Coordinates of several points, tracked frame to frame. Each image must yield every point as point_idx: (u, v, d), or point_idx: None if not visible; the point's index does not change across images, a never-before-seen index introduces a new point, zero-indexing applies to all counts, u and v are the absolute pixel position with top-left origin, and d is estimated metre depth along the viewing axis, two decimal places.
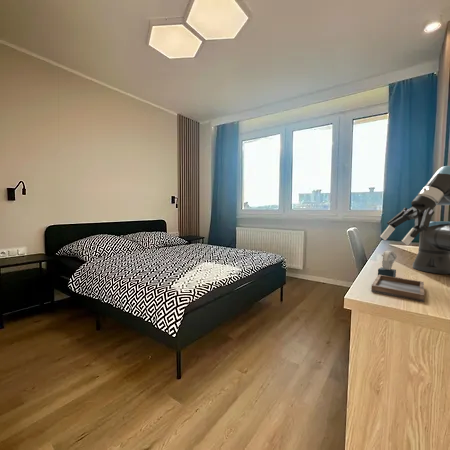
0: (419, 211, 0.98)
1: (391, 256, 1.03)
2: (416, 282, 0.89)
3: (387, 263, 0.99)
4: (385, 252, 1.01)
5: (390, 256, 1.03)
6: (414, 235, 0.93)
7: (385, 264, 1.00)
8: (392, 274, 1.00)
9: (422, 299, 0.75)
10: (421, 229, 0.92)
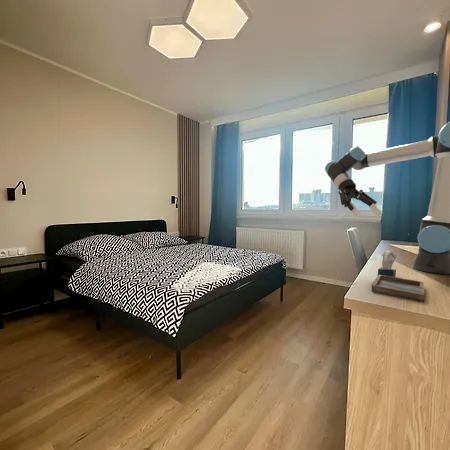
0: None
1: (391, 256, 1.03)
2: (416, 282, 0.89)
3: (387, 263, 0.99)
4: (385, 252, 1.01)
5: (390, 256, 1.03)
6: (350, 208, 1.11)
7: (385, 264, 1.00)
8: (392, 274, 1.00)
9: (422, 299, 0.75)
10: (345, 203, 1.12)
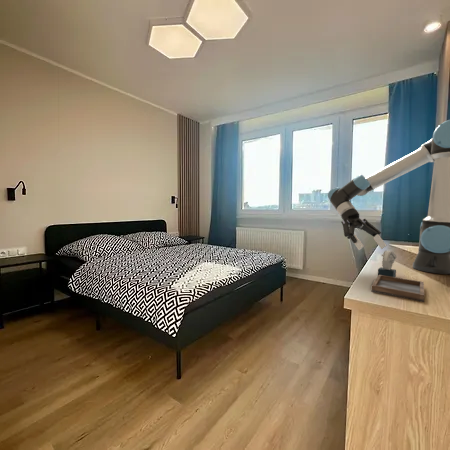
0: None
1: (391, 256, 1.03)
2: (416, 282, 0.89)
3: (387, 263, 0.99)
4: (385, 252, 1.01)
5: (390, 256, 1.03)
6: (353, 241, 1.08)
7: (385, 264, 1.00)
8: (392, 274, 1.00)
9: (422, 299, 0.75)
10: (348, 235, 1.10)
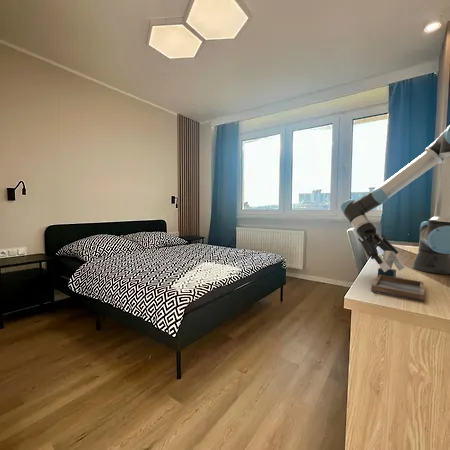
0: None
1: (391, 256, 1.03)
2: (416, 282, 0.89)
3: (387, 263, 0.99)
4: (385, 252, 1.01)
5: (390, 256, 1.03)
6: (378, 262, 1.00)
7: None
8: (392, 274, 1.00)
9: (422, 299, 0.75)
10: (372, 255, 1.02)
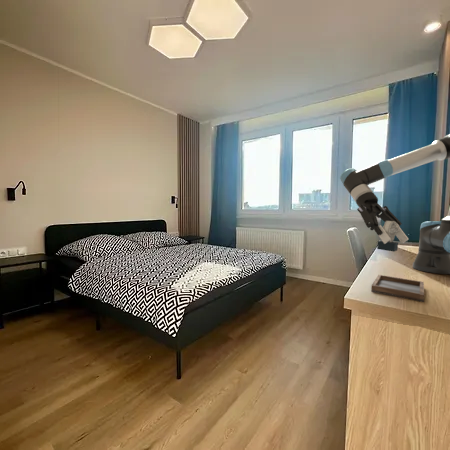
0: None
1: (393, 227, 0.93)
2: (416, 282, 0.89)
3: (388, 234, 0.89)
4: (386, 222, 0.91)
5: (392, 227, 0.93)
6: (378, 232, 0.90)
7: None
8: (393, 246, 0.90)
9: (422, 299, 0.75)
10: (372, 226, 0.92)
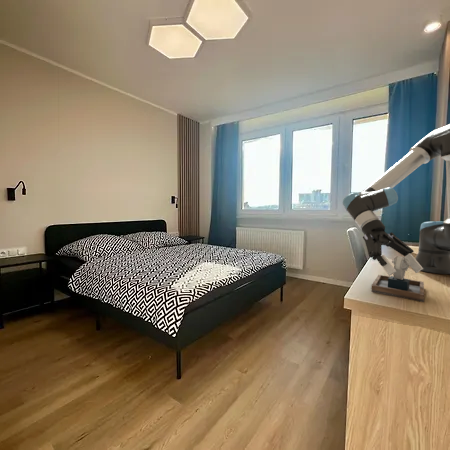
0: None
1: (404, 263, 0.86)
2: (416, 282, 0.89)
3: (399, 272, 0.82)
4: (397, 258, 0.84)
5: (402, 263, 0.86)
6: (382, 263, 0.83)
7: (397, 273, 0.83)
8: (406, 285, 0.83)
9: (422, 299, 0.75)
10: (375, 256, 0.85)
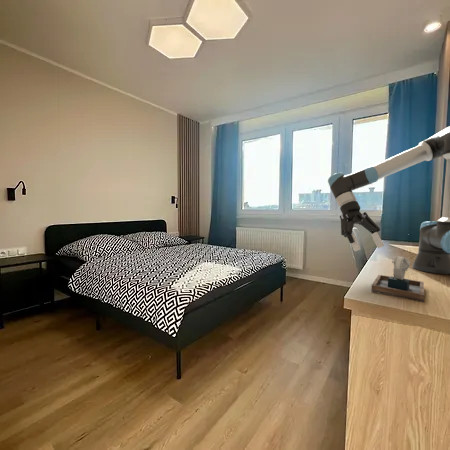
0: None
1: (404, 263, 0.86)
2: (416, 282, 0.89)
3: (400, 272, 0.82)
4: (397, 258, 0.84)
5: (402, 263, 0.86)
6: (350, 241, 0.99)
7: (397, 273, 0.83)
8: (406, 285, 0.83)
9: (422, 299, 0.75)
10: (346, 234, 1.00)
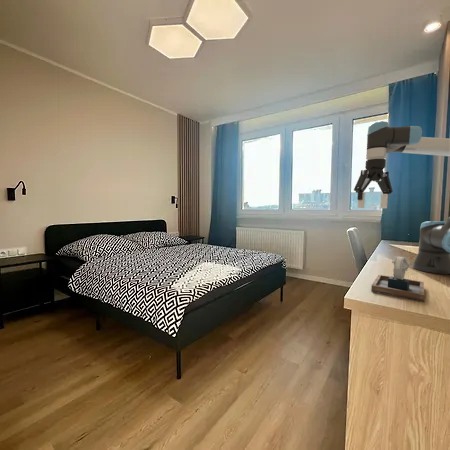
0: None
1: (404, 263, 0.86)
2: (416, 282, 0.89)
3: (400, 272, 0.82)
4: (397, 258, 0.84)
5: (402, 263, 0.86)
6: (358, 198, 1.05)
7: (397, 273, 0.83)
8: (406, 285, 0.83)
9: (422, 299, 0.75)
10: (358, 191, 1.05)
